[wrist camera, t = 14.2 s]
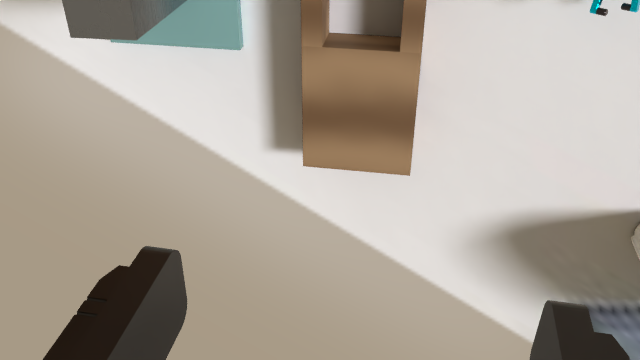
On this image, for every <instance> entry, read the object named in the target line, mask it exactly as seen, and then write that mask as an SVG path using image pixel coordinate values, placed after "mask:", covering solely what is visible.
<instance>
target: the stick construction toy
mask: <svg viewBox="0 0 640 360" xmlns="http://www.w3.org/2000/svg"><path fill="white" fill-rule="evenodd" d="M601 3H602V0H593V3H592V6H591V9H590V13H593V14H598V15H602V16H606V15H607V13H608V10H607V9H603V8H600V5H601ZM639 5H640V0H632V2H631V4H626V3H623V4H622V6H621V9H622V10H627V11H632V12H637V11H638V10H639Z"/></svg>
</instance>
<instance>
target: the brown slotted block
mask: <svg viewBox="0 0 640 360" xmlns="http://www.w3.org/2000/svg"><path fill="white" fill-rule="evenodd" d="M425 10H426V0H404V5H403V18H402V32H401V37H392V36H375V35H357V34H340V33H329V0H301V44H302V114H303V166H308V167H319V168H331V169H342V170H353V171H364V172H376V173H387V174H398V175H409V176H410V170H411V159H412V148H413V138H414V127H415V117H416V106H417V95H418V85H419V74H420V63H421V53H422V42H423V32H424V21H425Z"/></svg>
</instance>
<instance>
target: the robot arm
mask: <svg viewBox="0 0 640 360" xmlns="http://www.w3.org/2000/svg"><path fill="white" fill-rule="evenodd" d="M186 310H187V296H186V289H185V282H184V275H183V268H182V261H181V255H180V253H179V251H178V250H172V249H165V248H157V247H150V246H145V247H143V248H142V249H141V250H140V252H139V253H138V255H137V256H136V258H135V259H134V261H133V262H132V264H131V265H130V267H127V266H120V265H119V266H118V267H116V268H115V269H114V270H112V271H111V272H109V273H108V274H107V275H105V276H104V277H102V278H101V279H100V280H99V281H98V283H97V284H96V285H95V287H94V288H93V290H92V291H91V292H90V294H89V295H88V297H87V300H85V301H84V302H83V304H82V305H81V306H80V308H79V309H78V311H77V315H74V316H73V318H72V319H71V321H70V322H69V323H68V325H67V326H66V328H65V329H64V330H63V332H62V333H61V335H60V336H59V337H58V339H57V340H56V342H55V343H54V345H53V346H52V347H51V349H50V350H49V351H48V353H47V354H46V356H45V357H44V358H43V360H166V358H167V356H168V354H169V352H170V350H171V348H172V346H173V344H174V342H175V340H176V338H177V336H178V334H179V332H180V330H181V328H182V325H183V323H184V320H185V315H186ZM530 360H630V359H629V356H628V355H627V353H626V352H625V351H624V349H623V348H622V347H621V346H620V344H619V343H618V342H617V341H616V339H615V338H614V337H613V336H612V334H605V333H597V332H594V330H593V326H592V322H591V319H590V315H589V311H588V308H587V307H586V306H585V305H581V304H573V303H565V302H558V301H550V300H548V301H547V302H546V303H545V305H544V308H543V312H542V315H541V319H540V322H539V325H538V329H537V332H536V336H535V339H534V342H533V346H532V349H531V354H530Z"/></svg>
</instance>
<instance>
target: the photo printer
mask: <svg viewBox="0 0 640 360" xmlns="http://www.w3.org/2000/svg"><path fill="white" fill-rule="evenodd" d="M631 241H632V244H633V247H634V249H635V251H636V253H637V256H638V258H639V260H640V224H639V225H638V226H637V228H636V229H635V232H634V236H632V237H631Z"/></svg>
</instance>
